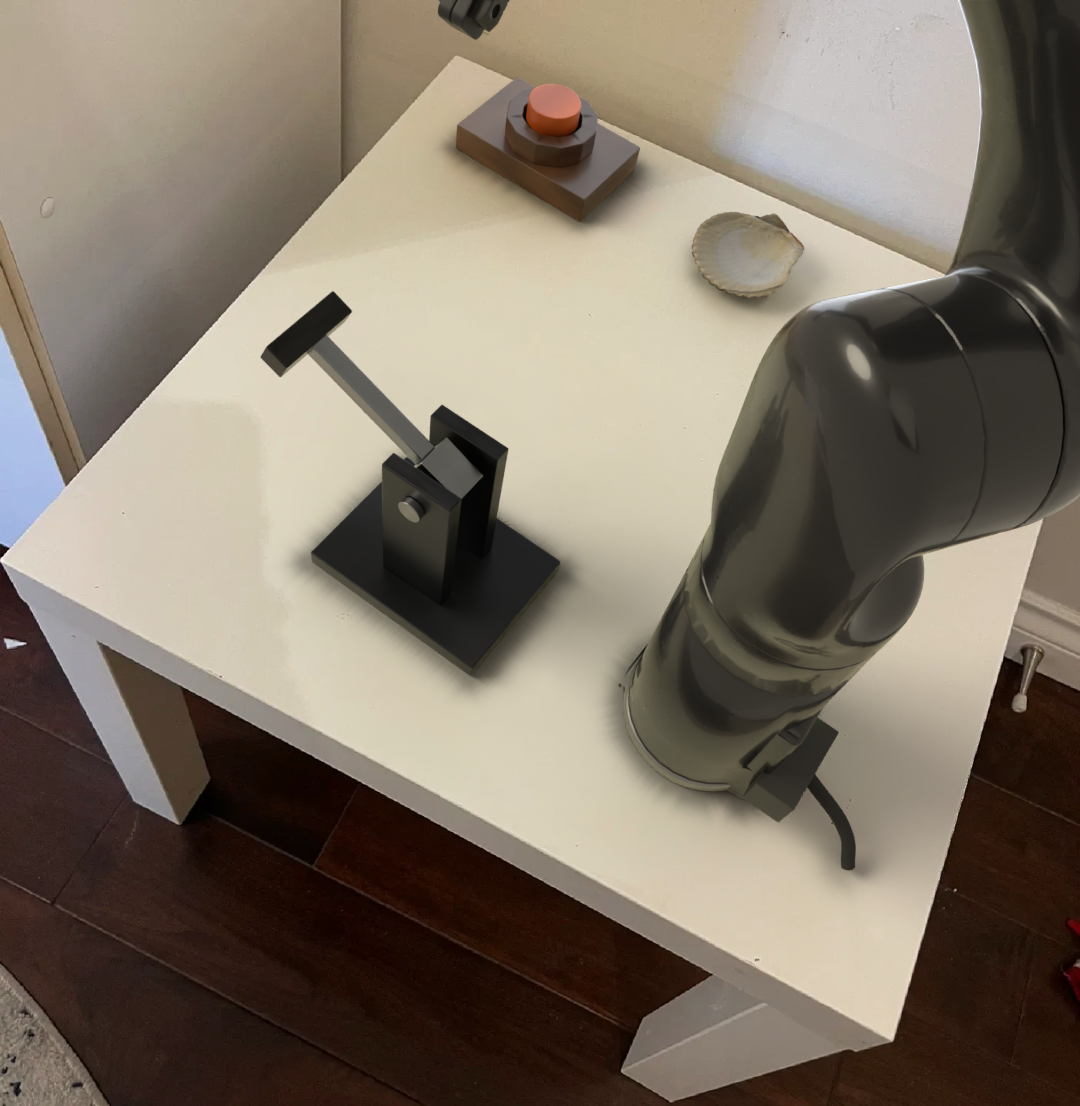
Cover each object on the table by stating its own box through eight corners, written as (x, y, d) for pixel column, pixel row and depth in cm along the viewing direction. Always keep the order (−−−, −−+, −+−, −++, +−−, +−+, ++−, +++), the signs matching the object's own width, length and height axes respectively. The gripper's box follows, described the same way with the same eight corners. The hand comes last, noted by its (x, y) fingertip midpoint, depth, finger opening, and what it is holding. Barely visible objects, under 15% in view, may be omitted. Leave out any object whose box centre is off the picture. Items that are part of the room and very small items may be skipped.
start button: (587, 120, 80) (591, 100, 79) (558, 145, 78) (561, 126, 77) (545, 96, 81) (548, 76, 79) (515, 120, 79) (518, 101, 78)
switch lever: (257, 361, 53) (267, 342, 51) (323, 305, 55) (336, 285, 53) (425, 531, 55) (442, 520, 53) (481, 470, 57) (500, 458, 55)
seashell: (674, 263, 81) (723, 319, 76) (673, 229, 79) (724, 285, 74) (767, 228, 82) (822, 282, 78) (769, 194, 80) (826, 247, 75)
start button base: (635, 170, 83) (645, 127, 80) (579, 222, 80) (588, 180, 76) (514, 100, 86) (519, 56, 82) (455, 148, 82) (458, 104, 79)
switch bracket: (311, 561, 63) (296, 448, 52) (406, 466, 67) (409, 344, 57) (470, 676, 60) (487, 581, 50) (558, 570, 64) (590, 462, 54)
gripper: (493, -499, 41) (306, -69, 46) (776, -374, 39) (547, 68, 44) (551, -367, 49) (383, -5, 53) (794, -254, 46) (594, 116, 51)
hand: (457, 27), depth 49 cm, fingers closed
